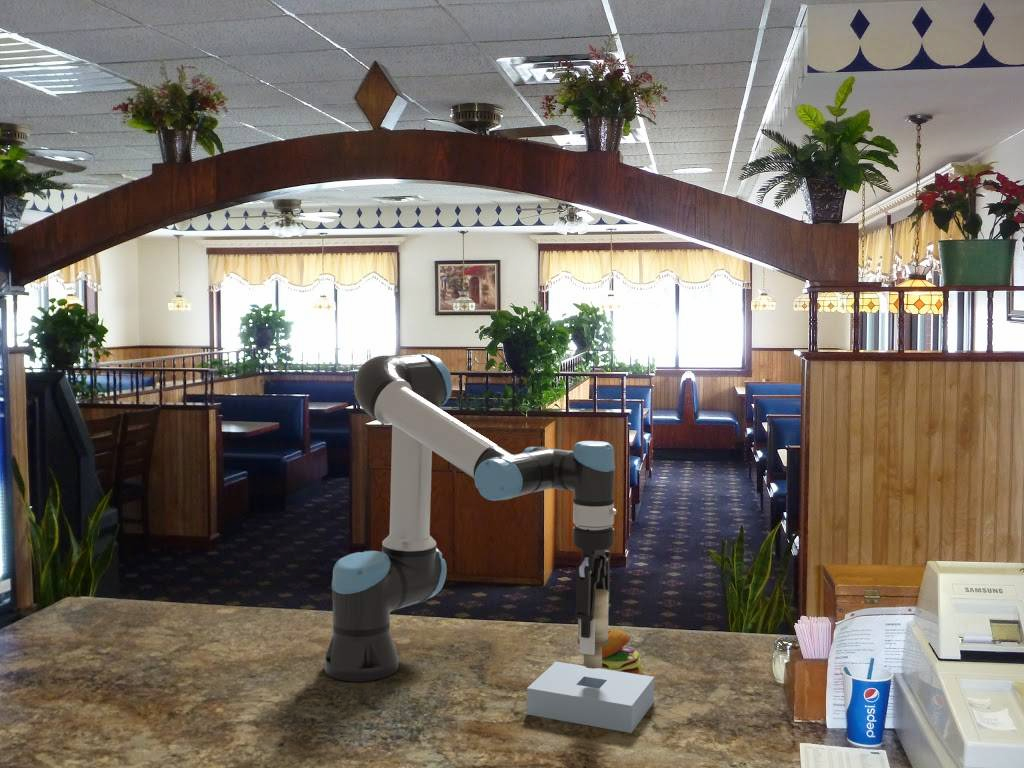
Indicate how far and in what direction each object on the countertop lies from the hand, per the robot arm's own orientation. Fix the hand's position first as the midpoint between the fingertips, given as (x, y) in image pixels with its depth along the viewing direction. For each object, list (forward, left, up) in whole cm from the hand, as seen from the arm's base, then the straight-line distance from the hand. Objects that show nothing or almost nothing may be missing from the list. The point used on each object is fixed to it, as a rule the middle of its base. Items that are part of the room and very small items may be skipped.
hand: (592, 647), depth 188 cm
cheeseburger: (-2, +19, -12) cm, 23 cm away
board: (0, 0, -12) cm, 12 cm away
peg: (0, 0, -3) cm, 3 cm away
